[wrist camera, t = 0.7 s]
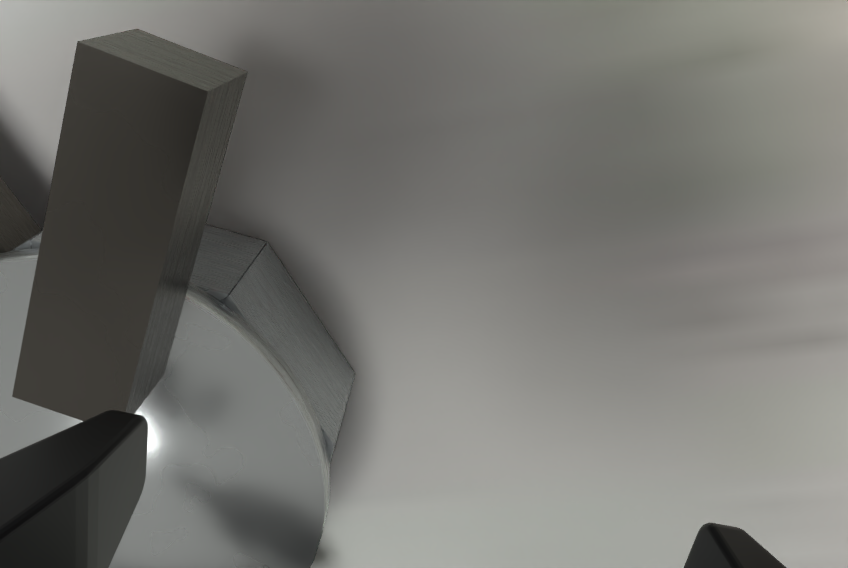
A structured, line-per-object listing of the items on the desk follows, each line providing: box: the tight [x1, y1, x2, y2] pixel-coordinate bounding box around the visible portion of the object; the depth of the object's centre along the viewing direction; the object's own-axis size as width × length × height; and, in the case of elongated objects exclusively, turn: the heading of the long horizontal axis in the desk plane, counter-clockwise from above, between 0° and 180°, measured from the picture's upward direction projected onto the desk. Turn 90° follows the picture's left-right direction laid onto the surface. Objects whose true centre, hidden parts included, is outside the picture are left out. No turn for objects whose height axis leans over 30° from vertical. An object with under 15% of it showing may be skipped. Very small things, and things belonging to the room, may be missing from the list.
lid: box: [0, 29, 330, 568], centre depth 17 cm, size 17×12×3 cm
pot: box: [0, 177, 355, 466], centre depth 21 cm, size 19×11×4 cm, turn 29°
